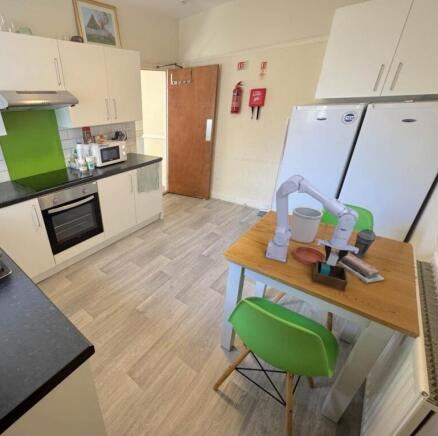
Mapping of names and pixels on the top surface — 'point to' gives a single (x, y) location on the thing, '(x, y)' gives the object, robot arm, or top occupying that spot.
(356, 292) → the top surface
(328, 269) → the teal packet
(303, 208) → the utensil holder
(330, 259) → the silver packet
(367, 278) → the packaged product
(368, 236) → the beverage cup
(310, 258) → the bowl
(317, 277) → the box
